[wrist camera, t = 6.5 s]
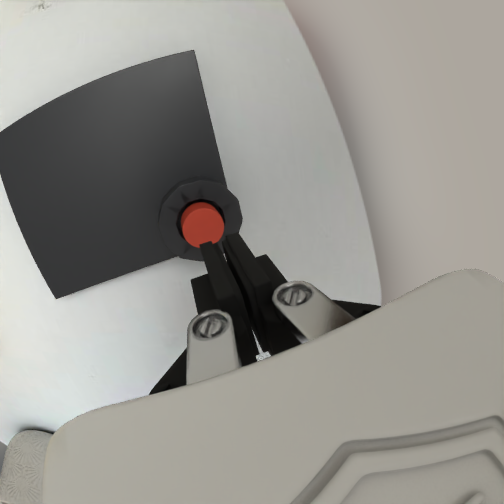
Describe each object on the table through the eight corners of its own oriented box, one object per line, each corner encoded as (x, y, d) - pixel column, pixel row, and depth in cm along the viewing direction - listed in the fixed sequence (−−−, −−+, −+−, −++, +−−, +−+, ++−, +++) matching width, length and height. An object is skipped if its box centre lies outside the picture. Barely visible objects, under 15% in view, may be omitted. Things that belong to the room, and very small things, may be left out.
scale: (195, 54, 16) (201, 42, 13) (238, 231, 22) (249, 246, 20) (-1, 137, 13) (-20, 140, 10) (61, 292, 20) (52, 313, 17)
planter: (-10, 415, 22) (-23, 491, 8) (56, 413, 25) (51, 513, 12) (51, 463, 30) (51, 528, 16) (118, 462, 33) (129, 537, 20)
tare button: (214, 196, 18) (218, 202, 17) (223, 232, 19) (228, 240, 18) (175, 209, 18) (177, 216, 16) (187, 244, 19) (189, 253, 17)
